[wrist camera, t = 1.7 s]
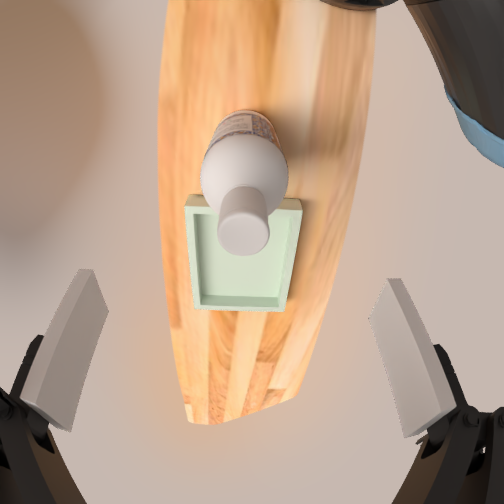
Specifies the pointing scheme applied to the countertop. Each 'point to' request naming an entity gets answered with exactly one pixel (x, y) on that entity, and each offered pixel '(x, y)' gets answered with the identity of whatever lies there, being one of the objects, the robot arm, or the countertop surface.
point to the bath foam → (244, 180)
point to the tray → (241, 261)
